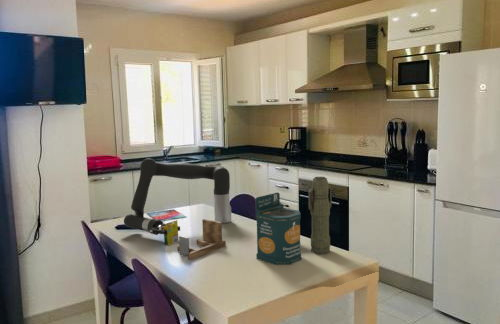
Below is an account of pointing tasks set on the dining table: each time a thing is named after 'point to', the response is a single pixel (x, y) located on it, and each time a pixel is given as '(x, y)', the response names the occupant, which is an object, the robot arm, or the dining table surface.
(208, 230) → the rack
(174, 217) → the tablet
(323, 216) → the thermos
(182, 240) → the bookend
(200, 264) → the dining table surface
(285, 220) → the donation box
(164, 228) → the crayon box
